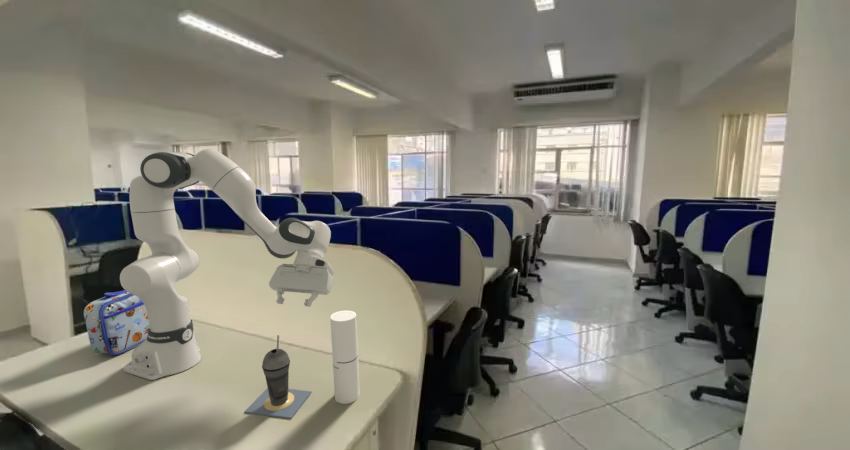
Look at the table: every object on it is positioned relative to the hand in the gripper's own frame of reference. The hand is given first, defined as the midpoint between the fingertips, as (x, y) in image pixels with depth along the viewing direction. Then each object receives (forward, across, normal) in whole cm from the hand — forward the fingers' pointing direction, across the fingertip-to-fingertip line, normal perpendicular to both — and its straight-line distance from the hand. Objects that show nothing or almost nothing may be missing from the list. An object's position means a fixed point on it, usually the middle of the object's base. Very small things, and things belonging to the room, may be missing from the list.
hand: (293, 304), depth 109 cm
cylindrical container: (+22, +20, +12) cm, 32 cm away
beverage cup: (+26, +2, +7) cm, 27 cm away
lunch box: (+12, -72, +24) cm, 77 cm away
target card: (+26, +2, +7) cm, 27 cm away
